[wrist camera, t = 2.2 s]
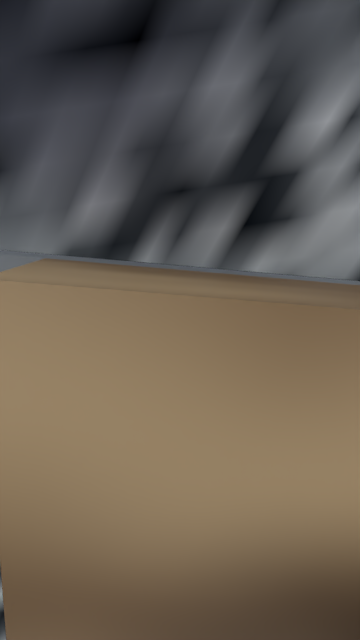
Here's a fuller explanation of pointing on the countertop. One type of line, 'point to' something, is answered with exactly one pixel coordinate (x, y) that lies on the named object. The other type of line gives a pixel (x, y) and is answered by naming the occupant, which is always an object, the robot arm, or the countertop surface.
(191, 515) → the tan wooden plank
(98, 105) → the countertop surface
